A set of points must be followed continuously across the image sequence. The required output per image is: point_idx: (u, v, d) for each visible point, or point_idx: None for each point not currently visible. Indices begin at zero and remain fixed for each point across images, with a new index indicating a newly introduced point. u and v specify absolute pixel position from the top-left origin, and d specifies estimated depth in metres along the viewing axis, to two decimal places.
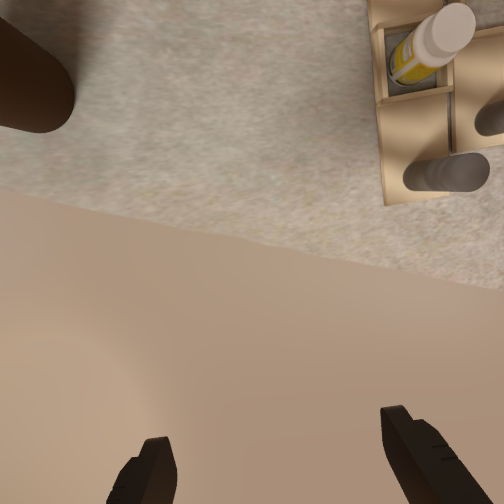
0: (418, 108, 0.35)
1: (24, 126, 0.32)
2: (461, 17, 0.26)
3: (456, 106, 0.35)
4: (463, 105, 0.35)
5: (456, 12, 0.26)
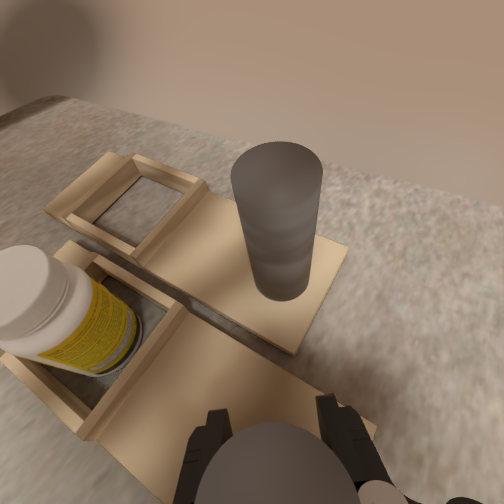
0: (167, 368, 0.17)
1: None
2: (6, 264, 0.13)
3: (220, 308, 0.18)
4: (227, 297, 0.19)
5: None
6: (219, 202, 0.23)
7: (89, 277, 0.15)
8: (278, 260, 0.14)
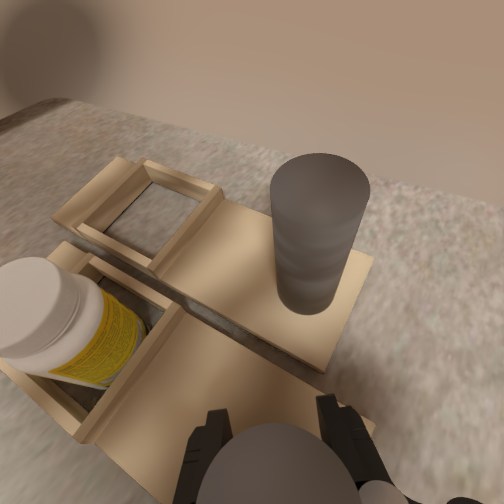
0: (165, 369, 0.17)
1: None
2: (14, 278, 0.12)
3: (243, 323, 0.18)
4: (250, 311, 0.18)
5: None
6: (236, 210, 0.22)
7: (99, 288, 0.14)
8: (314, 277, 0.13)
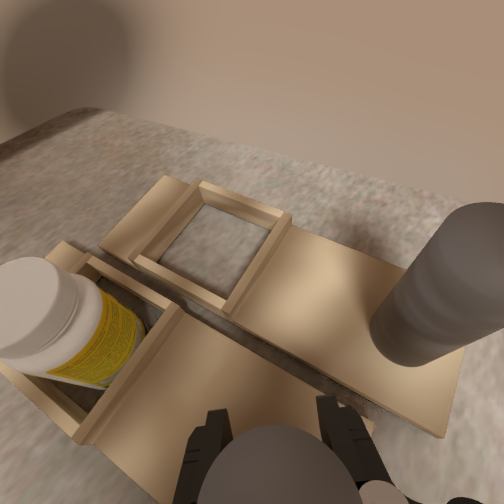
0: (164, 370, 0.17)
1: None
2: (12, 278, 0.12)
3: (337, 375, 0.16)
4: (344, 361, 0.16)
5: None
6: (308, 239, 0.20)
7: (98, 288, 0.14)
8: (460, 342, 0.11)
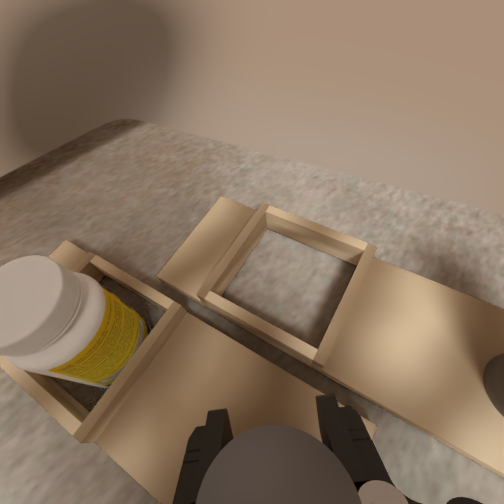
0: (165, 369, 0.17)
1: None
2: (17, 276, 0.12)
3: (455, 442, 0.14)
4: (460, 425, 0.14)
5: (2, 279, 0.12)
6: (394, 273, 0.18)
7: (102, 287, 0.14)
8: None
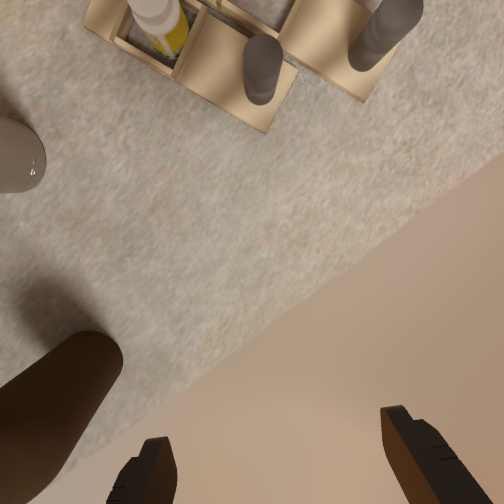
0: (203, 47, 0.34)
1: (109, 389, 0.40)
2: None
3: (328, 76, 0.34)
4: (333, 69, 0.34)
5: None
6: None
7: None
8: (380, 52, 0.29)
